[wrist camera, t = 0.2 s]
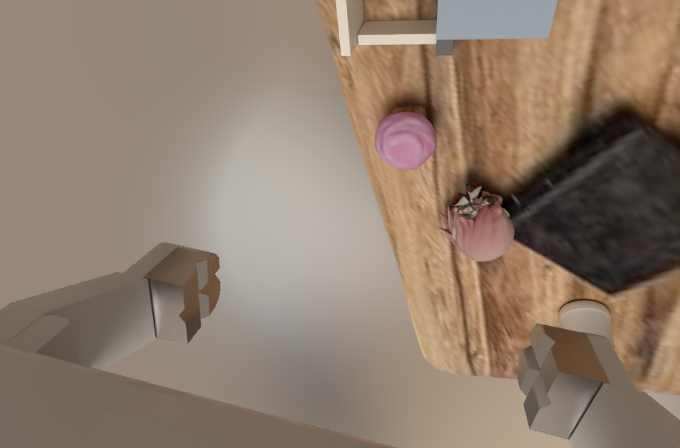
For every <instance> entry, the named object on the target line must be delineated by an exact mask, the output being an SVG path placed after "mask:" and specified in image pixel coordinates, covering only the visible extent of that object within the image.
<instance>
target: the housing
mask: <svg viewBox="0 0 680 448" xmlns="http://www.w3.org/2000/svg"><path fill="white" fill-rule="evenodd" d="M336 7H337V17H338V27H339V37H340V47H341V56H351V54H352V52H353V51H354V49H355V47H356V45H357V43H358V45H379V44H436V55H453V47H454V40H455V39H452V40H436V29H437V20H402V21H365V23H364V14H363V0H336Z"/></svg>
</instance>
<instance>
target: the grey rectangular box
mask: <svg viewBox="0 0 680 448" xmlns="http://www.w3.org/2000/svg"><path fill="white" fill-rule="evenodd" d="M557 1H558V0H438V12H437V29H436V40H452V39H531V38H549V34H550V30H551V26H552V22H553V18H554V14H555V9H556V5H557Z"/></svg>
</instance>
